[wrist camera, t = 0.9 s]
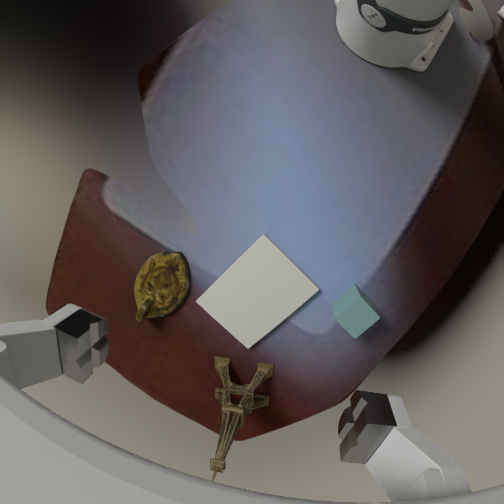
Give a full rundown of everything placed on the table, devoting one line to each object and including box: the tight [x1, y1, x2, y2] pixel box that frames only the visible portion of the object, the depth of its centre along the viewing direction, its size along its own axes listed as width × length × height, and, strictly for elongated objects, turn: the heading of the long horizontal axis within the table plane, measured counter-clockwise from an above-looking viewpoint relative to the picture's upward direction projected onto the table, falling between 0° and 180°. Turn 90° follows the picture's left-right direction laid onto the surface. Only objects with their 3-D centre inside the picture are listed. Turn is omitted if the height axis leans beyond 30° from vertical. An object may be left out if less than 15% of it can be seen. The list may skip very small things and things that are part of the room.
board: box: [196, 233, 319, 349], centre depth 48 cm, size 16×12×1 cm
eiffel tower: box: [210, 356, 273, 482], centre depth 42 cm, size 11×11×25 cm
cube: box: [331, 284, 380, 339], centre depth 44 cm, size 5×5×5 cm
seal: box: [134, 252, 190, 321], centre depth 49 cm, size 9×5×15 cm
